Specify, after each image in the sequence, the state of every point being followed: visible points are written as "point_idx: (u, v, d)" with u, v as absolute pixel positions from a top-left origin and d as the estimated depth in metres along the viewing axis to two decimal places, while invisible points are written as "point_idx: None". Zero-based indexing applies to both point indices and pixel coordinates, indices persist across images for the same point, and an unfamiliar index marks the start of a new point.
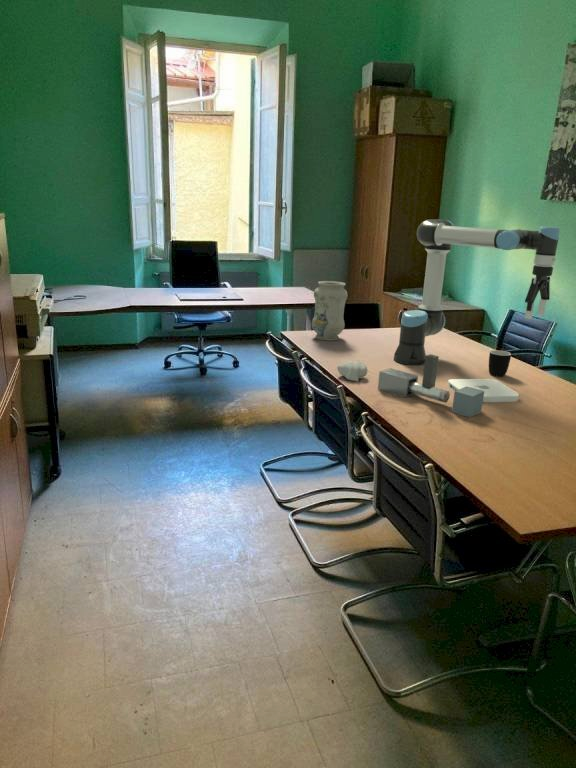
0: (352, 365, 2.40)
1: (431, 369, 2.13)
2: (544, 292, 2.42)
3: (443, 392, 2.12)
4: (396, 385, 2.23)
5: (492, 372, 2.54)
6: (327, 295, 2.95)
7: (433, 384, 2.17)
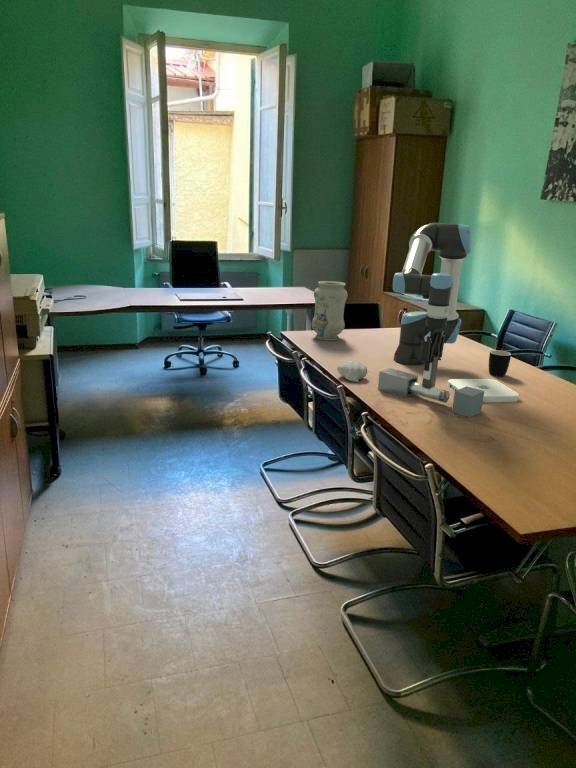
0: (352, 366, 2.39)
1: None
2: (437, 348, 2.14)
3: (443, 392, 2.12)
4: (396, 385, 2.23)
5: (492, 372, 2.54)
6: (327, 295, 2.95)
7: (433, 384, 2.17)
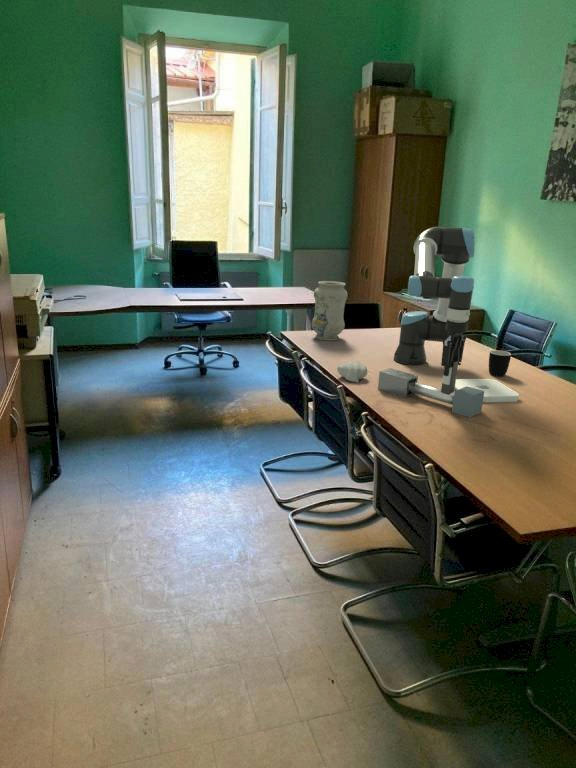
0: (352, 366, 2.39)
1: (451, 374, 2.08)
2: (456, 353, 2.09)
3: None
4: (396, 385, 2.23)
5: (492, 372, 2.54)
6: (327, 295, 2.95)
7: (452, 389, 2.12)
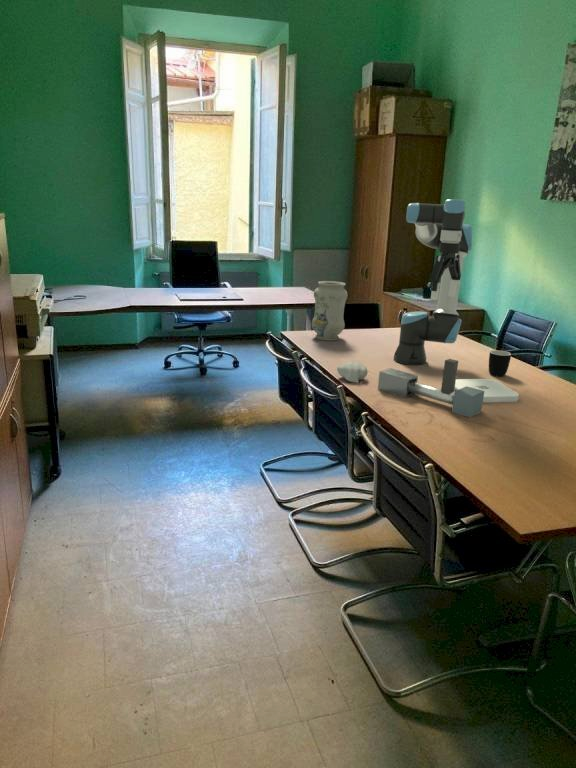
0: (352, 366, 2.38)
1: (451, 374, 2.08)
2: (453, 271, 2.24)
3: None
4: (396, 385, 2.23)
5: (492, 372, 2.54)
6: (327, 295, 2.95)
7: (452, 389, 2.12)
